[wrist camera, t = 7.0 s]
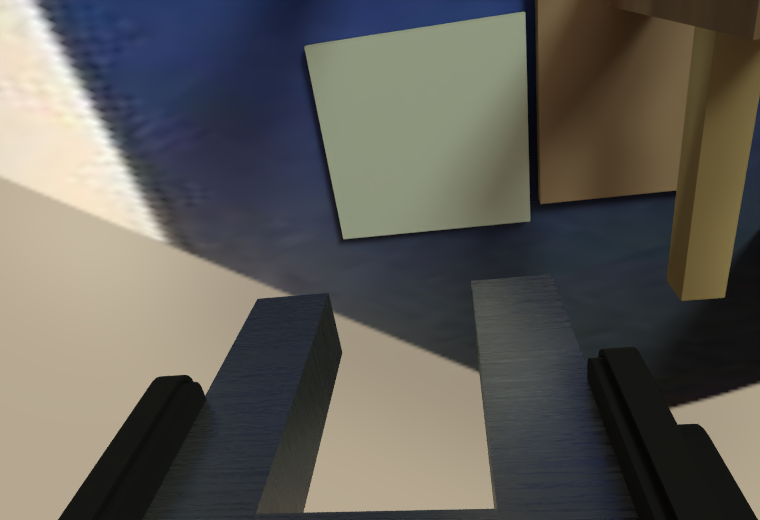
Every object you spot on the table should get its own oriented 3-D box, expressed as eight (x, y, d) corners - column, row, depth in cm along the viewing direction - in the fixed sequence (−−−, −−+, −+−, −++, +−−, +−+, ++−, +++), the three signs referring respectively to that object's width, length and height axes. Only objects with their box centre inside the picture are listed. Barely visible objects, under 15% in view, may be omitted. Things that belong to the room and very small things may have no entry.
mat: (523, 11, 24) (525, 12, 23) (528, 216, 29) (530, 221, 28) (307, 45, 25) (304, 46, 25) (344, 234, 30) (343, 239, 30)
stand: (742, -106, 21) (1092, -189, 10) (703, 185, 27) (897, 345, 16) (533, -69, 22) (631, -105, 11) (538, 201, 28) (605, 361, 17)
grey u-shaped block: (551, 274, 12) (699, 663, 5) (551, 338, 13) (680, 746, 6) (257, 299, 13) (68, 650, 6) (275, 357, 14) (123, 723, 7)
